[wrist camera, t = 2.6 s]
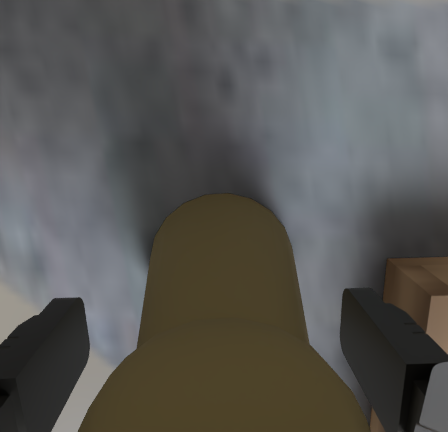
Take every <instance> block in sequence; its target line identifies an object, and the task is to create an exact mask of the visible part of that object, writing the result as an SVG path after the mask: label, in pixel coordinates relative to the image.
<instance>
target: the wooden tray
mask: <svg viewBox="0 0 448 432" xmlns="http://www.w3.org/2000/svg"><path fill="white" fill-rule="evenodd" d="M383 301H384V302H385V303H391V304H393V305H395V306H396V307H398V308H400V309H402V310H403V311H405V312H407V313H408V314H409V315H410V316H411V318H412V319H413V320H414V321H415V322H416V323H417V325H419V326H420V327H421V328H422V329H423V330H424V331H425V333H426V334H428V335H429V336H430V337H431V338H432V339H433V340H434V341H435V342H436V343H437V344H438V345H439V346H440V347H441V348H442V349H443V350H444V351H445V352H446V353H447V354H448V257H425V258H389V259H387V264H386V274H385V284H384V294H383ZM370 430H371V432H385V430H384V428H383V426H382V424H381V422H380V421H379V419H378V417H377V415H376V413H375V411H374V410H373V408H372V410H371V420H370Z"/></svg>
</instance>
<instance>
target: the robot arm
mask: <svg viewBox="0 0 448 432" xmlns="http://www.w3.org/2000/svg"><path fill="white" fill-rule="evenodd" d="M340 342H341V347H342V351H343V354H344V356H345V358H346V360H347V361H348V363H349V365H350V367H351V369H352V371H353V373H354V374H355V376H356V378H357V380H358V382H359V384H360V385H361V387H362V389H363V391H364V393H365V395H366V397H367V398H368V400H369V402H370V404H371V406H372V408H373V410H374V411H375V413H376V415H377V417H378V419H379V421H380V422H381V424H382V426H383V428H384V430H385V432H448V354H447V353H446V352H445V351H444V350H443V349H442V348H441V347H440V346H439V345H438V344H437V343H436V342H435V341H434V340H433V339H432V338H431V337H430V336H429V335H428V334H426V333H425V331H424V330H423V329H422V328H421V327H420V326H419V325H417V323H416V322H415V321H414V320H413V319H412V318H411V316H410V315H409V314H408V313H407V312H405V311H403V310H402V309H400V308H398V307H396V306H395V305H393V304H391V303H385V302H384V301H383V300H382V299H381V298H380V297H379V296H378V295H377V294H376V293H375V291H374V290H373V289H372V288H347V289H345V290H344V292H343V296H342V311H341V326H340ZM89 350H90V343H89V335H88V329H87V322H86V315H85V308H84V303H83V300H82V299H81V298H79V297H78V298H54V299H53V300H52V301H51V302H50V303H49V304H48V305H47V306H46V307H45V309H44V310H43V311H42V312H41V313H40V314H39V315H35V316H33V317H32V318H30V319H28V320H27V321H25V322H23V323H22V324H20V325H18V327H17V328H16V329H15V330H14V331H13V332H12V333H11V334H10V335H9V336H8V338H7V339H5V340H4V341H3V342H2V344H0V432H51V431H52V429H53V427H54V425H55V423H56V421H57V419H58V417H59V415H60V414H61V411H62V410H63V408H64V406H65V404H66V402H67V400H68V398H69V396H70V394H71V392H72V390H73V389H74V387H75V385H76V383H77V381H78V379H79V377H80V375H81V373H82V371H83V370H84V368H85V366H86V364H87V361H88V357H89Z"/></svg>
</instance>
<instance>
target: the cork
mask: <svg viewBox="0 0 448 432" xmlns="http://www.w3.org/2000/svg"><path fill="white" fill-rule="evenodd" d="M78 432H371V430H370V428H369V425H368V422H367V419H366V417H365V415H364V413H363V411H362V409H361V407H360V405H359V403H358V401H357V400H356V398H355V396H354V394H353V392H352V391H351V389H350V388H349V387H348V386H347V385H346V384H345V383H344V382H343V380H342V379H341V378H340V377H339V376H338V375H337V374H336V373H335V371H334V370H333V369H332V368H331V367H330V366H329V365H328V364H327V362H326V361H325V360H324V359H323V358H322V357H321V356H320V355H319V354H318V353H317V352H316V351H315V350H314V348H313V347H312V346H311V345H310V344H309V339H308V333H307V328H306V322H305V316H304V311H303V305H302V300H301V294H300V289H299V283H298V277H297V272H296V266H295V261H294V255H293V249H292V246H291V243H290V241H289V238H288V235H287V232H286V230H285V227H284V226H283V225H282V224H281V223H280V221H279V220H278V219H277V218H276V217H275V215H274V214H273V213H272V212H271V211H270V210H269V209H267V208H265V207H264V206H262V205H261V204H259V203H257V202H256V201H254V200H253V199H250V198H246V197H242V196H238V195H234V194H230V193H224V194H209V195H203V196H201V197H198V198H196V199H193V200H191V201H188V202H186V203H183V204H182V205H181V206H180V207H179V208H177V209H176V210H175V211H174V212H173V213H171V214H170V215H169V216H168V217H167V218H166V219H165V221H164V222H163V224H162V225H161V227H160V229H159V230H158V232H157V234H156V235H155V238H154V243H153V247H152V252H151V257H150V263H149V270H148V276H147V283H146V290H145V297H144V303H143V310H142V317H141V323H140V330H139V337H138V343H137V349H136V350H135V351H134V352H132V353H131V354H130V355H128V356H127V357H126V358H125V359H124V360H123V361H122V362H121V364H120V365H119V366H118V367H117V368H116V369H115V370H114V371H113V372H112V374H111V375H110V376H109V378H108V379H107V381H106V382H105V384H104V385H103V387H102V389H101V390H100V392H99V393H98V395H97V396H96V398H95V399H94V401H93V402H92V404H91V406H90V407H89V409H88V411H87V413H86V415H85V417H84V419H83V421H82V424H81V426H80V428H79V430H78Z"/></svg>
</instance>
